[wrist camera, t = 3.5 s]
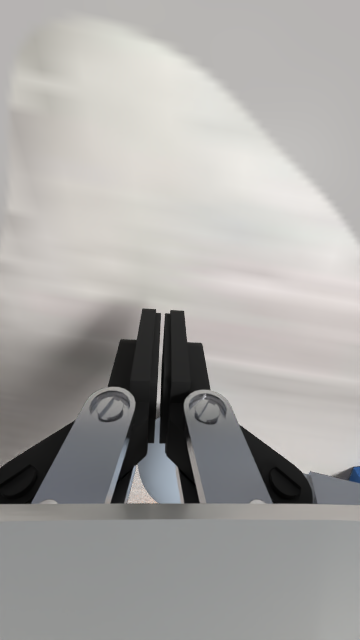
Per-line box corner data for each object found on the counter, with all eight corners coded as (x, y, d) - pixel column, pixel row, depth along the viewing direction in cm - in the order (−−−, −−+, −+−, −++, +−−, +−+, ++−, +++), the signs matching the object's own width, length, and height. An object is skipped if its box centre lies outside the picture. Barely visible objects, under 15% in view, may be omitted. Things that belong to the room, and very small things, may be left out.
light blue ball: (225, 393, 17) (245, 479, 13) (213, 443, 20) (225, 528, 16) (142, 390, 17) (131, 477, 12) (141, 442, 20) (132, 528, 15)
